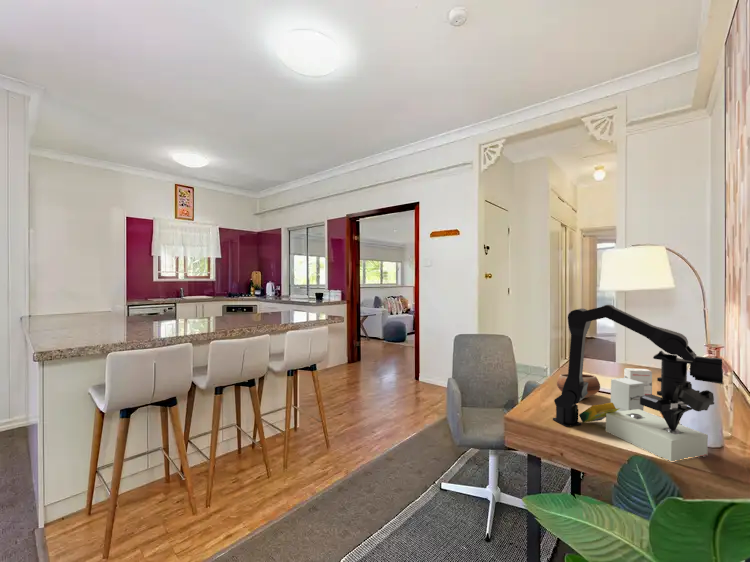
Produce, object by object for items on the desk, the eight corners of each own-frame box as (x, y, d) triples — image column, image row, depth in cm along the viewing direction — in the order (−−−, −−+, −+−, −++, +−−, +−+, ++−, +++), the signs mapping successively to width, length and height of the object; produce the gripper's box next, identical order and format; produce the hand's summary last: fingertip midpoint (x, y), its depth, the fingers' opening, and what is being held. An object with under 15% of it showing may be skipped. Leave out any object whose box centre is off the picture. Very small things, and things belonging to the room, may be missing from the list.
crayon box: (597, 411, 126) (616, 400, 117) (601, 420, 124) (621, 409, 115) (577, 414, 125) (596, 402, 116) (582, 423, 123) (600, 411, 114)
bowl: (577, 389, 159) (578, 367, 158) (609, 402, 144) (609, 377, 143) (548, 392, 155) (548, 369, 154) (577, 405, 139) (578, 380, 139)
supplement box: (628, 419, 126) (629, 384, 126) (609, 411, 133) (610, 378, 133) (644, 417, 128) (645, 382, 128) (624, 410, 135) (625, 377, 135)
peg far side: (674, 452, 102) (674, 432, 101) (663, 447, 104) (663, 427, 104) (681, 450, 102) (682, 431, 102) (670, 445, 105) (670, 426, 105)
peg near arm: (636, 435, 112) (636, 417, 112) (627, 431, 115) (627, 413, 115) (643, 434, 113) (644, 416, 113) (634, 430, 116) (634, 412, 116)
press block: (671, 462, 97) (671, 440, 97) (605, 431, 116) (606, 413, 116) (707, 455, 101) (707, 434, 101) (638, 426, 120) (638, 409, 120)
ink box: (644, 395, 151) (645, 368, 151) (652, 400, 146) (653, 371, 146) (622, 395, 152) (623, 367, 152) (630, 399, 147) (630, 370, 147)
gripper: (680, 387, 93) (679, 446, 93) (730, 382, 98) (728, 438, 98) (638, 375, 104) (637, 428, 104) (685, 371, 109) (684, 421, 109)
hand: (672, 429), depth 103 cm, fingers closed, pressing on peg far side
